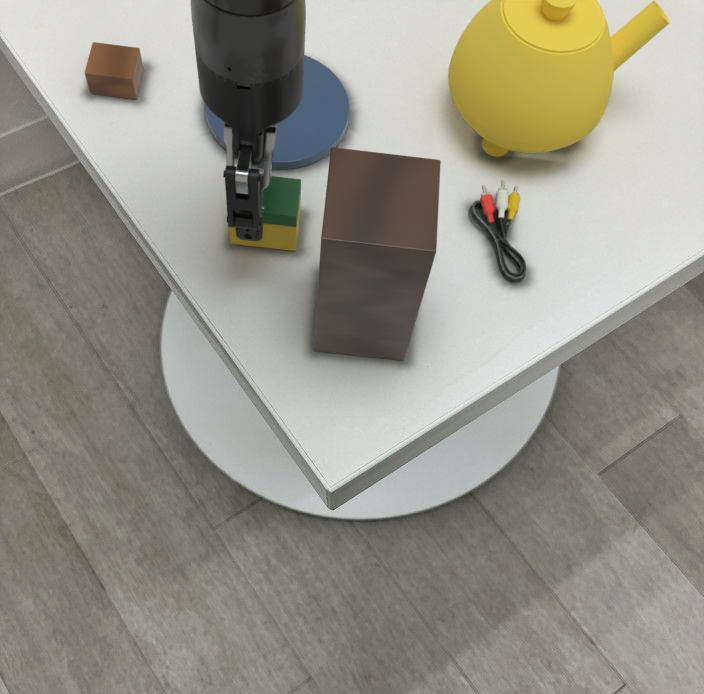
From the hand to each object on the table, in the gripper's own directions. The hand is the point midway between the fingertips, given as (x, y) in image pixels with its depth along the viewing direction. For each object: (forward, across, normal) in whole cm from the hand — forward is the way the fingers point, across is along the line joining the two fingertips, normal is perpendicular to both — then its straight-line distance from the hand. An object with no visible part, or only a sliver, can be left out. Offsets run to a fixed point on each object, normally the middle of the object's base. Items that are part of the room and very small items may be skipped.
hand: (255, 196), depth 69 cm
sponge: (+4, 0, +1) cm, 5 cm away
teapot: (+4, -18, +26) cm, 32 cm away
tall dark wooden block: (+4, +8, +10) cm, 14 cm away
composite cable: (+4, -2, +22) cm, 23 cm away
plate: (+4, -14, 0) cm, 15 cm away
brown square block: (+5, -15, -15) cm, 22 cm away
